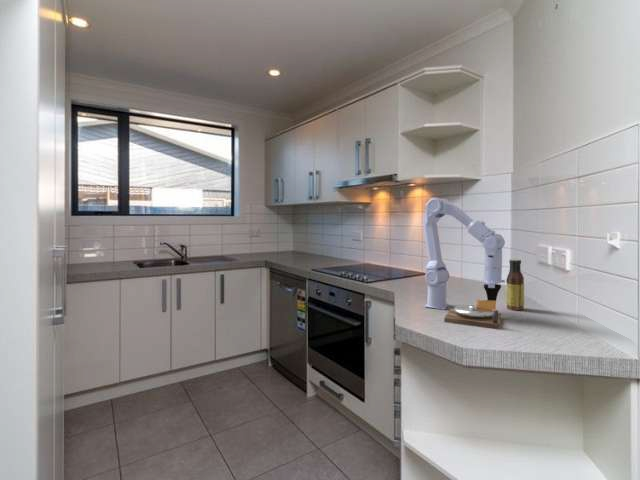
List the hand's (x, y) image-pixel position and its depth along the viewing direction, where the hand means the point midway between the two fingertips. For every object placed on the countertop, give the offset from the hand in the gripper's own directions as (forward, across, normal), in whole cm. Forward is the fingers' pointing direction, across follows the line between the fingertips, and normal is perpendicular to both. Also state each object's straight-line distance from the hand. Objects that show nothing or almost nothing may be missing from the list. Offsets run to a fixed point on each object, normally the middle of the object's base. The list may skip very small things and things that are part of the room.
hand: (491, 304), depth 128 cm
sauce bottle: (+5, +18, -8) cm, 20 cm away
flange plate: (+2, -7, +5) cm, 9 cm away
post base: (+5, -7, +6) cm, 10 cm away
